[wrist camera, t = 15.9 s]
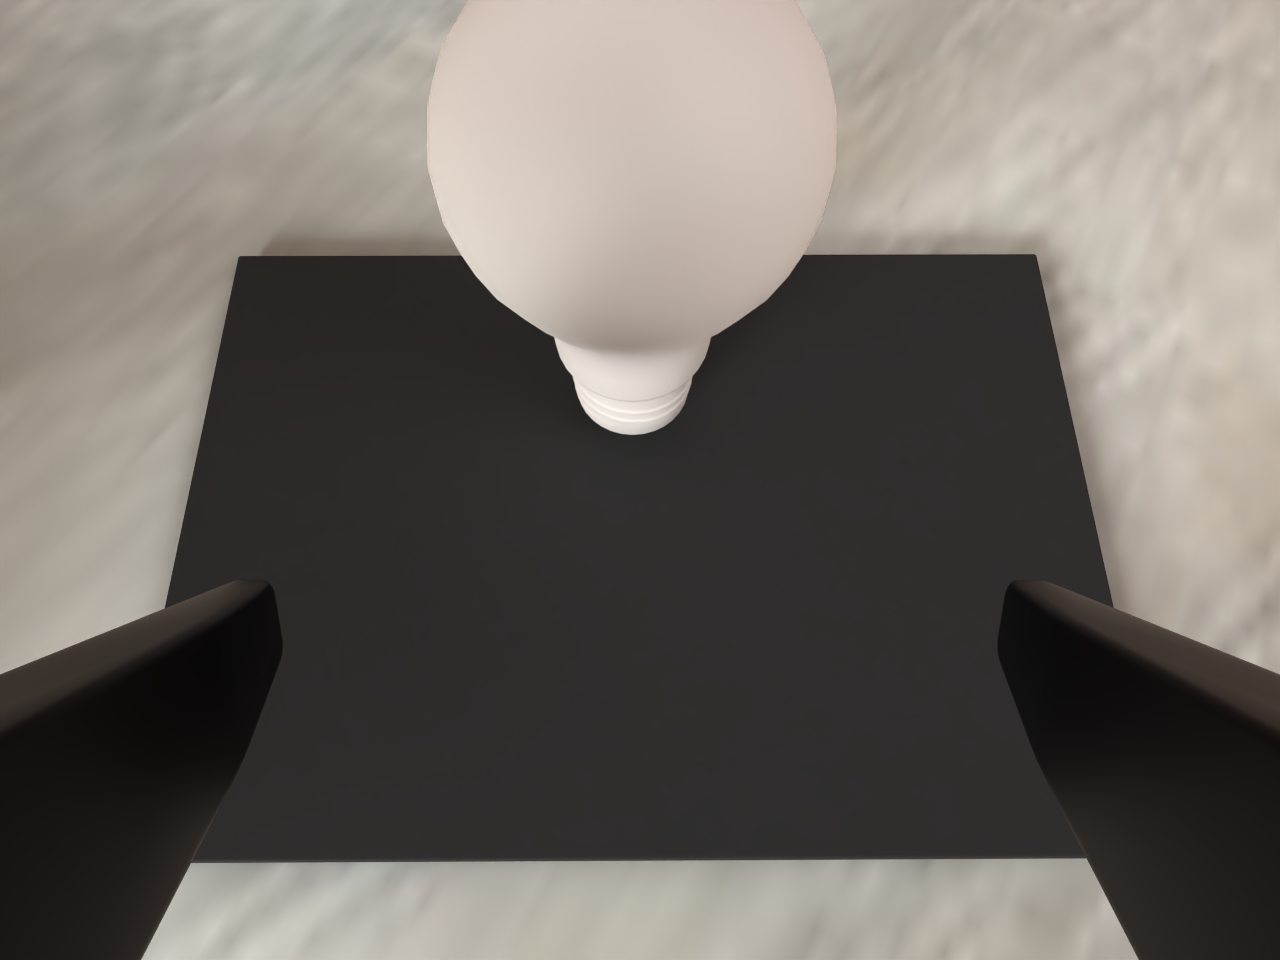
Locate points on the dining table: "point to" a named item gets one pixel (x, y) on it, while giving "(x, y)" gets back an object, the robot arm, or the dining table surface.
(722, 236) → the lightbulb
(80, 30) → the dining table surface
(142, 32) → the dining table surface
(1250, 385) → the dining table surface
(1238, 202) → the dining table surface
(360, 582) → the mat
